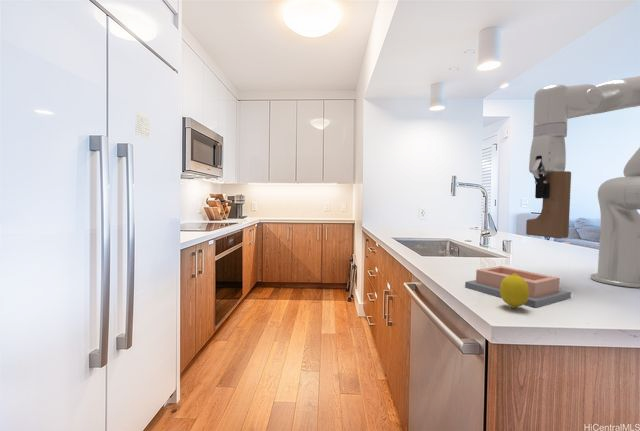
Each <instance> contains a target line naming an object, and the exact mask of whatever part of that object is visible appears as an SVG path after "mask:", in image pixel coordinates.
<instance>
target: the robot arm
mask: <svg viewBox="0 0 640 431" xmlns="http://www.w3.org/2000/svg"><path fill="white" fill-rule="evenodd" d="M533 99H534V100H533V102H534V104H533V132H532V141H531V146H530V153H529V163H528V164H529V165H528V171H529V173H531V174H532V175H533V178H534V184H535V188H534V189H535V190H534V191H535V192H534V193H535V194H534V198H535V199H543V198H549V184H547V183H548V179H549V173H550V172H554V171H566V164H567V161H566V160H567V156H566V155H567V154H566V152H567V150H566V139H565V138H567V136H568V120H570V119H575V118H579V117H583V116H584V117H585V116H590V115H598V114H604V113H610V112H613V111H619V110H624V109H629V108H637V107H640V75H638V76H631V77H624V78H618V79H613V80H610V81H607V82H604V83H600V84H597V85H595V84H590V83H585V84H575V85H565V84H551V85H547V86H544V87H542V88H539V89H538V90H536V92H535V94H534V98H533ZM544 175H545V176H544ZM597 200H598V204H599V211H600V212H599V213H600V227H599V243H598V259H597V260H598V262H597V273H591V274H590V279H591V280H593V281H596V282H599V283H602V284H608V285H613V286H619V287H625V288H627V287H628V288H637V289H638V288H640V212H639V211H638V210H640V147H639V148H638V149H637V150H636V151H635V153H633V155H632V156H631V157H630V159H628V161H627V162H626V164H625V166H624V168H623V176H621V177H613V178H610V179H608V180H605V181H603V183H601V184H600V186H599V187H598V189H597Z"/></svg>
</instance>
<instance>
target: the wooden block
mask: <svg viewBox="0 0 640 431" xmlns="http://www.w3.org/2000/svg"><path fill="white" fill-rule="evenodd" d="M543 176H545V175H543ZM571 183H572V171H570V170H569V171H568V170H565V171H554V172H550V173H549V179H548V183H547V184H549V198H542V207H541V211H540V214H539V215H538V216H537V217H536V218H529V219H527V220H526V224H525V225H526V226H525V227H526V228H525V229H526V230H525V233H526V235H527V236H536V237H543V238H544V237H545V238H553V239H567V238H569V232H570V231H569V230H570V212H571V211H570V210H571V209H570V206H571V189H572V188H571V185H572V184H571Z"/></svg>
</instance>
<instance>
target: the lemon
mask: <svg viewBox="0 0 640 431" xmlns="http://www.w3.org/2000/svg"><path fill="white" fill-rule="evenodd" d="M500 295H501V297H502V298H501V299H502V301H503V302H504V303H505V304H507V305H508V306H510V307H511V309H517V308H519V307H521V306H523V305H524V304H525V303H526V302H527V300H528V298H529V288H528V284H527V282H526V281H525V280H524V279H523V278H522V277H520V276H518V275H517V274H512V275H509V276H506V277H505V278H504V279H503V280H502V282H501V285H500Z"/></svg>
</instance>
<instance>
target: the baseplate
mask: <svg viewBox="0 0 640 431" xmlns="http://www.w3.org/2000/svg"><path fill="white" fill-rule="evenodd" d="M475 272H476V274H475V277H476V278H475V279H473V280H468V281H465V284H464V286H465V288H468V289H470V290H473V291H477V292H481V293H484V294H487V295H491V296H495V297H497V298H501V299H502V297H501V295H500V285H501V282H502V280H503V279H504V278H505V277H506V276H509V275H512V274H517V275H518V276H520V277H522V278H523V279H524V280H525V281H526V282H527V284H528V288H529V298H528V300H527V302H526V303H525V304H524V305H525V306H528V307H532V308H539V307H542V306H546V305H550V304H555V303H557V302H561V301H564V300H567V299H571V298H572V297H571V296H572V291H569V290H568V291H567V290H565V289H560V277H556V276H551V275H546V274H541V273H538V272H537V273H536V272H532V271H529V270H528V271H527V270H522V269H516V268H511V267H507V266H502V265H499V266H492V267H491V266H490V267H486V268H480V269H479V268H478V269H476V271H475Z"/></svg>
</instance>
